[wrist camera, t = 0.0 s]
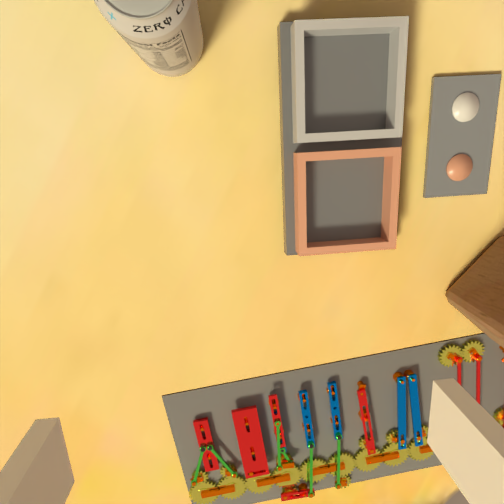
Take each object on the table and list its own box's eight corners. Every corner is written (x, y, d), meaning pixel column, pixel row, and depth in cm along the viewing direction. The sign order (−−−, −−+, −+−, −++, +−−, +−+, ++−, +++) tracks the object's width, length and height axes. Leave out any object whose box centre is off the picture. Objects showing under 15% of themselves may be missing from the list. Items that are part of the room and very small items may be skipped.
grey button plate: (432, 77, 37) (435, 76, 36) (498, 74, 37) (502, 73, 37) (423, 197, 40) (425, 198, 40) (484, 193, 41) (488, 193, 40)
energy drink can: (213, 24, 34) (207, -66, 20) (191, 89, 35) (170, 49, 21) (150, -6, 33) (95, -124, 19) (129, 62, 34) (64, 1, 20)
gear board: (194, 528, 48) (159, 406, 43) (195, 510, 50) (162, 392, 45) (524, 460, 49) (531, 333, 44) (510, 446, 52) (515, 324, 46)
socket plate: (277, 27, 35) (283, 14, 31) (401, 22, 35) (420, 9, 32) (284, 251, 41) (290, 261, 37) (389, 243, 41) (404, 252, 38)
